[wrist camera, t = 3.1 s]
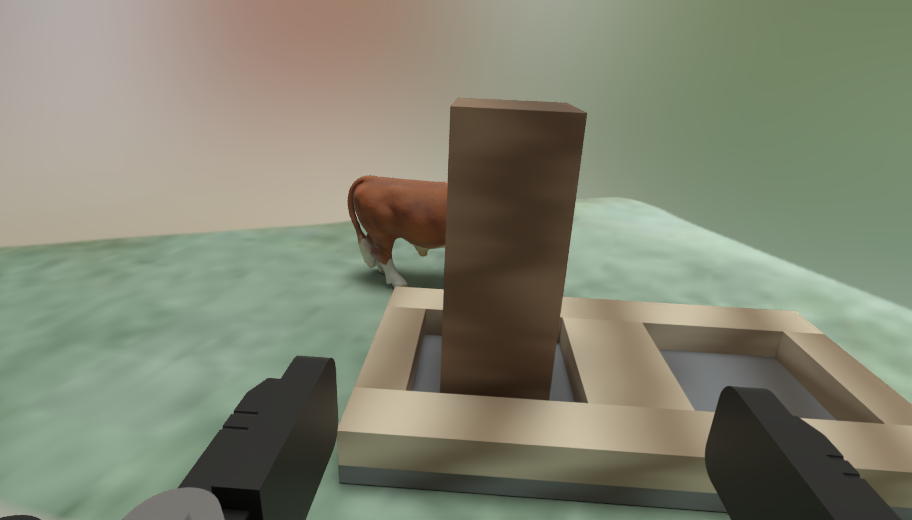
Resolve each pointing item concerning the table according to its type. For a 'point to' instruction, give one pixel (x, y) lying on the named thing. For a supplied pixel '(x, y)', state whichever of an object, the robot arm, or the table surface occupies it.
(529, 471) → the puzzle board
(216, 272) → the table surface
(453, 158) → the walnut block
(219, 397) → the table surface
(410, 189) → the bull figurine
